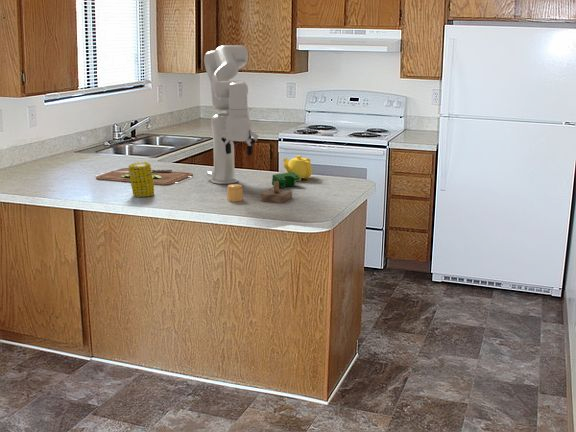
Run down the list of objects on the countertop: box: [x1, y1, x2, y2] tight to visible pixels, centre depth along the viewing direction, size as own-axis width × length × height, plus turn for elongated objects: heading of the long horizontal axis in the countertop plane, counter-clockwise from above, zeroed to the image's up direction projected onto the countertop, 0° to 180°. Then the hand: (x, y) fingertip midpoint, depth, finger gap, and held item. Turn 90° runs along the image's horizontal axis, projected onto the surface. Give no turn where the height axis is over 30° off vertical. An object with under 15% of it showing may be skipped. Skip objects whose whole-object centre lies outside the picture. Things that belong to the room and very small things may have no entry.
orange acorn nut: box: [226, 183, 244, 202], centre depth 316 cm, size 6×6×6 cm
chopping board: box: [94, 167, 195, 187], centre depth 361 cm, size 45×27×3 cm, turn 69°
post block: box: [260, 181, 293, 204], centre depth 317 cm, size 10×10×8 cm
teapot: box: [282, 155, 313, 182], centre depth 357 cm, size 14×14×11 cm
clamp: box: [271, 172, 299, 189], centre depth 341 cm, size 12×6×9 cm, turn 117°
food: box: [128, 161, 155, 198], centre depth 323 cm, size 15×12×10 cm
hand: (239, 154), depth 313 cm, fingers open, 9 cm apart
